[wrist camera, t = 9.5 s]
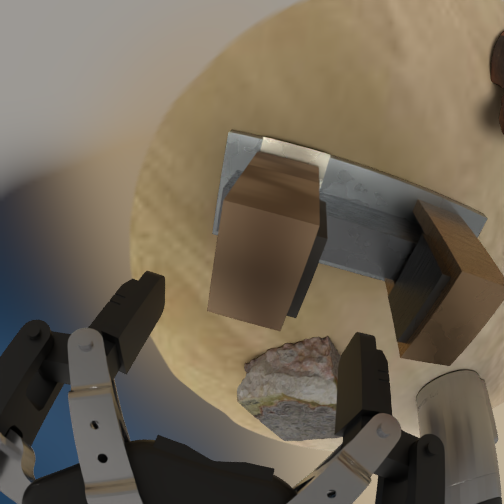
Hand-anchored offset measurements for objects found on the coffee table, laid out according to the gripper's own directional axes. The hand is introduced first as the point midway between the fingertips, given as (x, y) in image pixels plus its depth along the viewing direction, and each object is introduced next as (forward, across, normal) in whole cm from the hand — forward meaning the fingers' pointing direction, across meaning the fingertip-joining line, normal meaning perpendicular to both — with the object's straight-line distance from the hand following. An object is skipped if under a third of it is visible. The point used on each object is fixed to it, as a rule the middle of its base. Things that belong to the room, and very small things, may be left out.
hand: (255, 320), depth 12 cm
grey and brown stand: (+12, -5, 0) cm, 13 cm away
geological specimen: (+13, -8, +21) cm, 26 cm away
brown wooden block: (+11, +1, 0) cm, 11 cm away
